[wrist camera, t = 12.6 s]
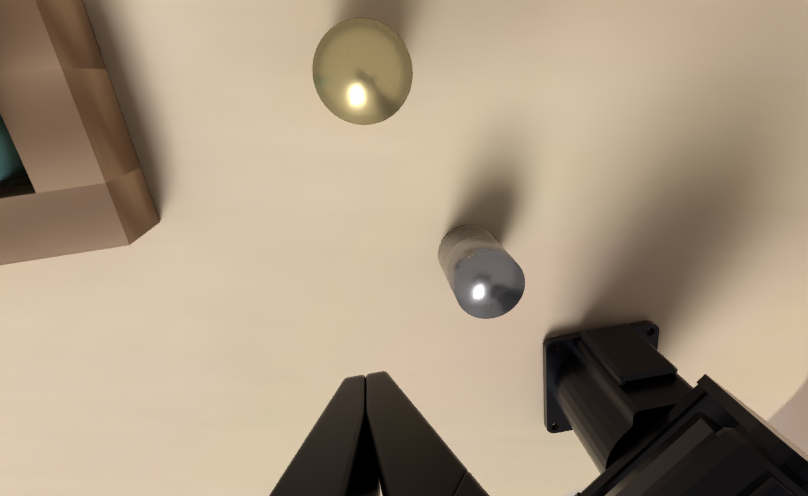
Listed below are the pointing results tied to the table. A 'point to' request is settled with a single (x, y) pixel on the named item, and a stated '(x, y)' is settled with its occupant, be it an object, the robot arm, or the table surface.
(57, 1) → the hole block
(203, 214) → the table surface
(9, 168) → the pin long
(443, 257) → the pin short
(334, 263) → the table surface
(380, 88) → the pin medium
